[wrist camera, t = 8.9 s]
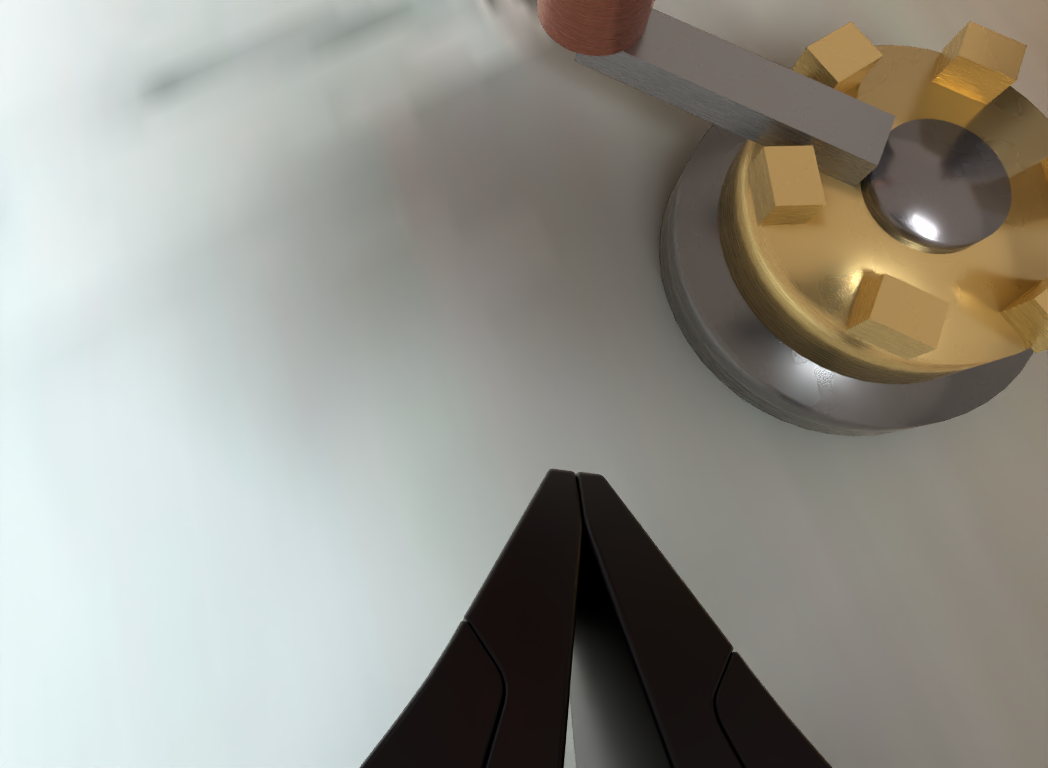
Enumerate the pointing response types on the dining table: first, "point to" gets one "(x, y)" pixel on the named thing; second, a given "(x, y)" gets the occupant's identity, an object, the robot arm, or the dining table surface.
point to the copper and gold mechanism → (859, 185)
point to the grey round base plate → (758, 355)
